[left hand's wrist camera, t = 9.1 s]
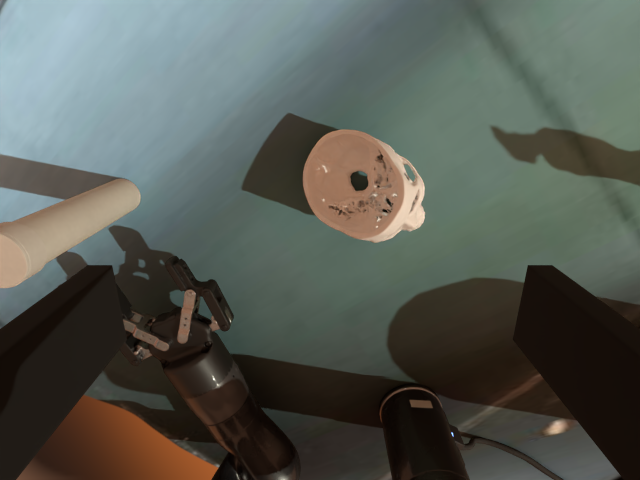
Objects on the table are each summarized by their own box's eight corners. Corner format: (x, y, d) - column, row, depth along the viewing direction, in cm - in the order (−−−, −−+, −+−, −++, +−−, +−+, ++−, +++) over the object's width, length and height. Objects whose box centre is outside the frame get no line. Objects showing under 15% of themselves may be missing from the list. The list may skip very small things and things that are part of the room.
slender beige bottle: (118, 171, 47) (-14, 221, 28) (147, 193, 48) (37, 256, 29) (100, 196, 48) (-39, 260, 29) (129, 217, 49) (12, 292, 30)
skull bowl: (403, 260, 49) (371, 269, 38) (325, 196, 54) (276, 187, 43) (458, 192, 46) (439, 181, 35) (369, 130, 51) (328, 103, 40)
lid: (3, 209, 30) (-21, 218, 28) (57, 247, 31) (38, 258, 29) (-23, 251, 31) (-48, 262, 29) (30, 285, 32) (9, 299, 30)
